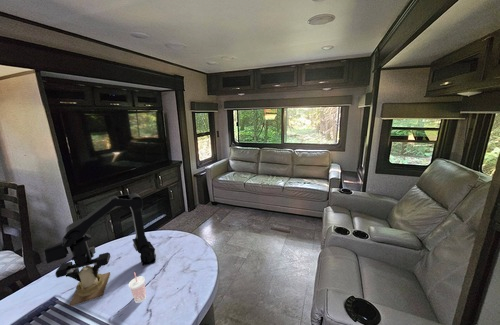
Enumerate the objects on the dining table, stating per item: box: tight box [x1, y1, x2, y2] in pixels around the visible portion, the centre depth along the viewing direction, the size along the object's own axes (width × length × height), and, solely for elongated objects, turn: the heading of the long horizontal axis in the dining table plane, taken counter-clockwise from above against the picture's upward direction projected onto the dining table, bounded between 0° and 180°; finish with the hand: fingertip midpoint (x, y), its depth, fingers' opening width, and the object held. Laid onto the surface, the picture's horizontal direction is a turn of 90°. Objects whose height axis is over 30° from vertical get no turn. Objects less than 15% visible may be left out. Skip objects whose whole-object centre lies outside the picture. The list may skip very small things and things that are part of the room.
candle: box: [79, 265, 98, 289], centre depth 92 cm, size 6×6×10 cm
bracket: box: [68, 271, 111, 307], centre depth 94 cm, size 12×14×4 cm
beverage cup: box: [128, 271, 147, 304], centre depth 87 cm, size 6×6×14 cm
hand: (89, 279), depth 93 cm, fingers closed on candle, 5 cm apart
